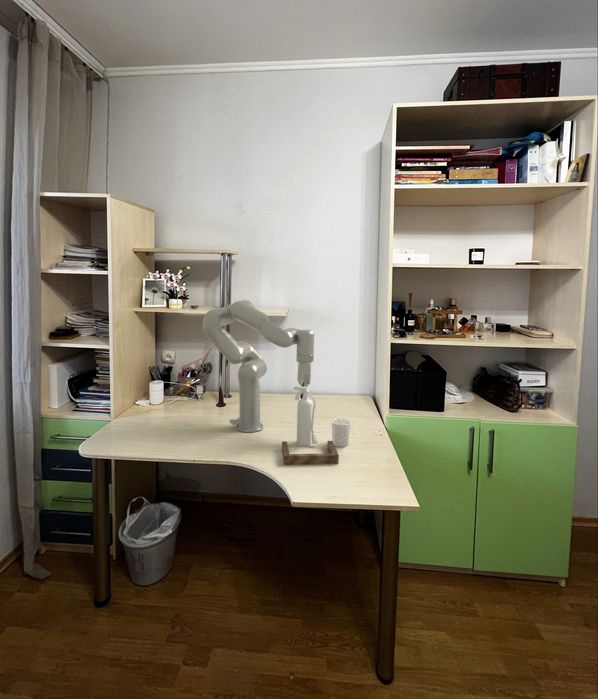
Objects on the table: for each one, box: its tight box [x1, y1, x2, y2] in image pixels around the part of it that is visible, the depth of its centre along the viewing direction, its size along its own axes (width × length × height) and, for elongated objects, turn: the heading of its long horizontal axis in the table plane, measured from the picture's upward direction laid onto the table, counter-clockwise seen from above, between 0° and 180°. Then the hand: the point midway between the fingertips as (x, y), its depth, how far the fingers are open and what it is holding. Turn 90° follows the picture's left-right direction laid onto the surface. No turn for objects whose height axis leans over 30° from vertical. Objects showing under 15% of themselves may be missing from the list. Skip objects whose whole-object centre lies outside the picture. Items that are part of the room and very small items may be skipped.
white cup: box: [331, 418, 351, 448], centre depth 197 cm, size 8×8×10 cm
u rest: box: [281, 440, 340, 466], centre depth 184 cm, size 21×15×4 cm
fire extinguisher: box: [293, 385, 319, 447], centre depth 195 cm, size 7×12×25 cm, turn 51°
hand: (304, 398), depth 204 cm, fingers closed
